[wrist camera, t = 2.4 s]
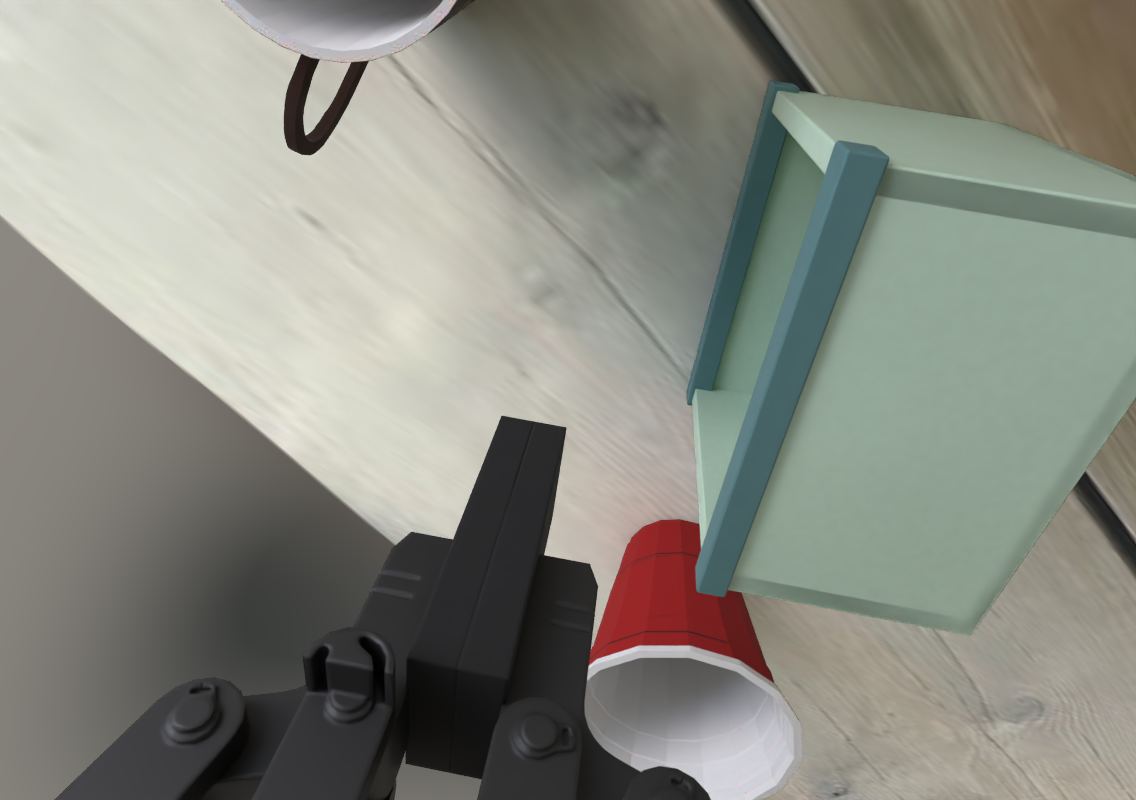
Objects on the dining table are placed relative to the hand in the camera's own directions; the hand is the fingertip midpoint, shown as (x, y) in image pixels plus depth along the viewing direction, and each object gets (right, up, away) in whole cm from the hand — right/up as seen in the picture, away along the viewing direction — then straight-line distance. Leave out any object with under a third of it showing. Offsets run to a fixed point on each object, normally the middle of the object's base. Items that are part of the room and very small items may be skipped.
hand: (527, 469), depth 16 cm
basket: (+12, +7, +14) cm, 20 cm away
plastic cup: (+7, -7, +24) cm, 26 cm away
